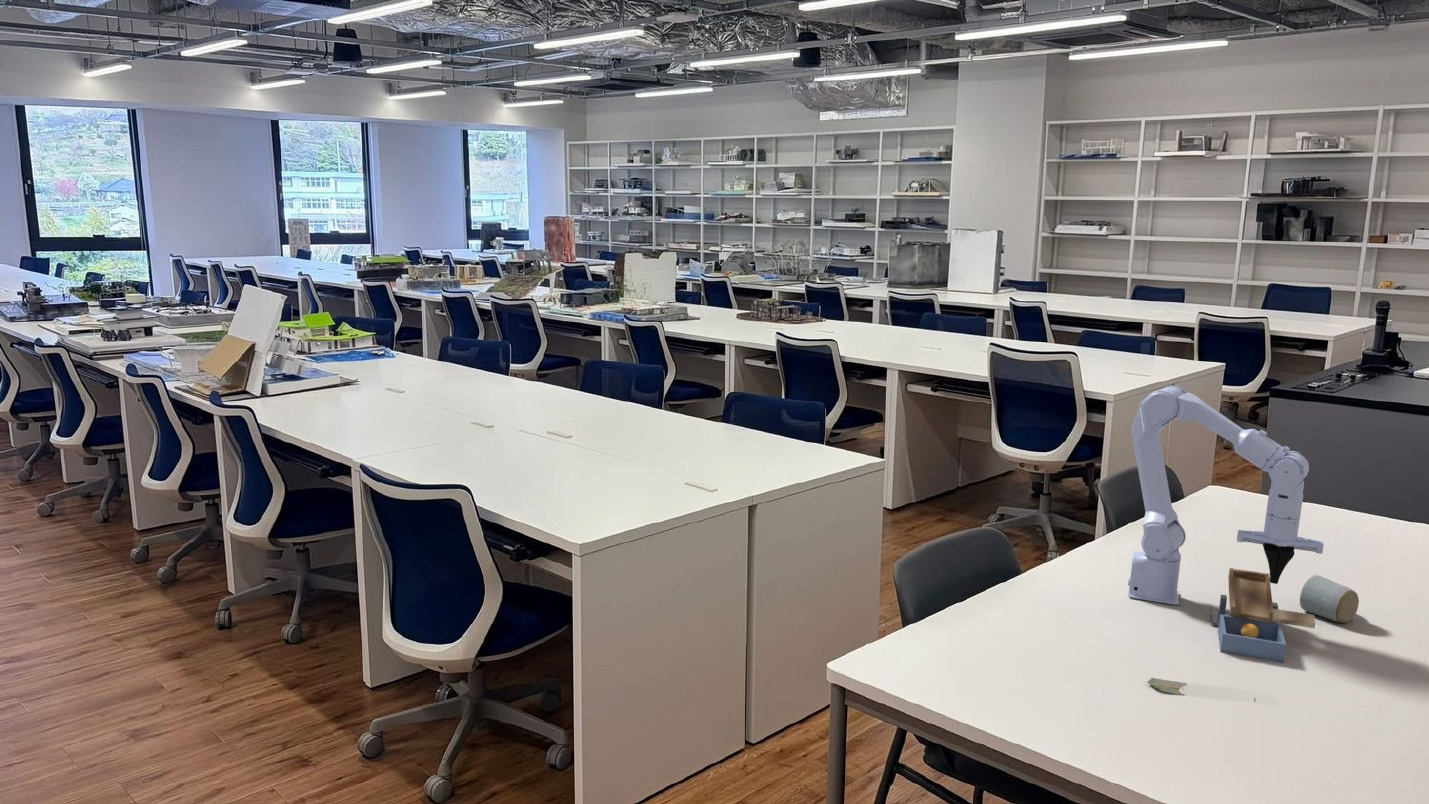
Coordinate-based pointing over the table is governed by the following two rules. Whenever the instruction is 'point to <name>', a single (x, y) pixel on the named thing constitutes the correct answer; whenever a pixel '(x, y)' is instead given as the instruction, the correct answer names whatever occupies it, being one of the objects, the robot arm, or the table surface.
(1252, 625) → the orange ball
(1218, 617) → the pivot stand
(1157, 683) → the map
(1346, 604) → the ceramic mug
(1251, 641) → the bin
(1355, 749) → the table surface
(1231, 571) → the tilt ramp
